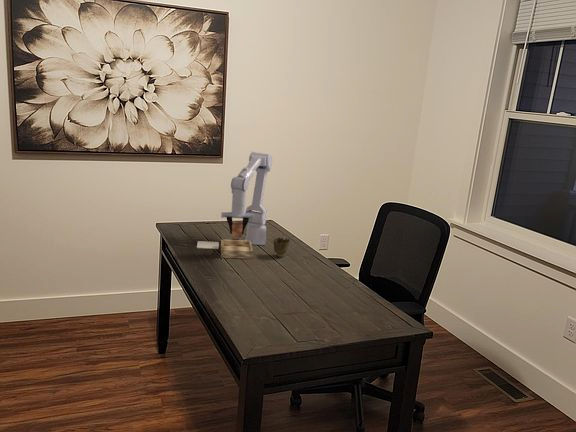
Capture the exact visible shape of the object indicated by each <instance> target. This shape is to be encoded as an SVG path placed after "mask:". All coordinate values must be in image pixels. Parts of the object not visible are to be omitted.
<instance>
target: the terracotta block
mask: <svg viewBox="0 0 576 432" xmlns="http://www.w3.org/2000/svg"><path fill="white" fill-rule="evenodd" d="M242 227H243V221H232V234H230V236H231V238H238V239H239V238H240V239H241V238H243V234H242Z"/></svg>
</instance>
